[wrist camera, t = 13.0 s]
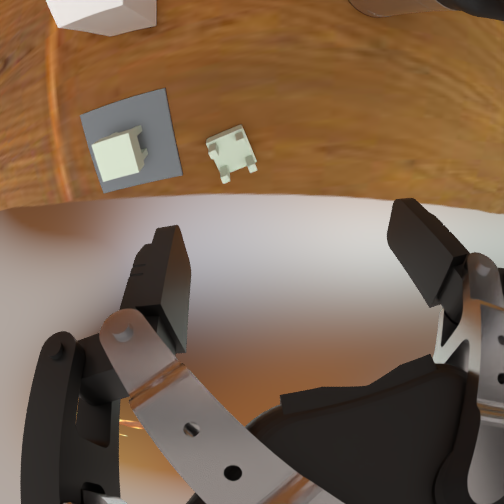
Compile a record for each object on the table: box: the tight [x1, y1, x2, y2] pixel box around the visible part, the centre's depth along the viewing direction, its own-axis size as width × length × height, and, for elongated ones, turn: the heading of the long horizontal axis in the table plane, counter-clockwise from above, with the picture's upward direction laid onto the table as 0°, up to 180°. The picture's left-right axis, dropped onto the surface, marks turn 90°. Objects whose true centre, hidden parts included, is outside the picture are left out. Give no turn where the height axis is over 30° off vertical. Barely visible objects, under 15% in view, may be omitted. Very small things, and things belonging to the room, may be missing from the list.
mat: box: [80, 88, 183, 193], centre depth 36 cm, size 14×14×1 cm
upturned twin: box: [206, 125, 257, 184], centre depth 36 cm, size 6×6×7 cm
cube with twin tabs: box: [92, 125, 148, 182], centre depth 33 cm, size 6×6×7 cm
